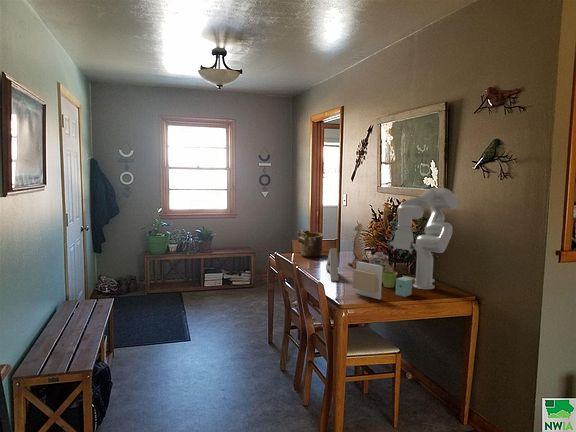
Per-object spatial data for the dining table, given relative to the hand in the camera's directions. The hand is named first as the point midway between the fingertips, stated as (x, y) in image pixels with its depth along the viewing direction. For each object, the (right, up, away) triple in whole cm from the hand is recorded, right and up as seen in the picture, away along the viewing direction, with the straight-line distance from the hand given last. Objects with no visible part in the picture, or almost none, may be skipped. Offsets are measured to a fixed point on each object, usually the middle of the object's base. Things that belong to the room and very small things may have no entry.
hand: (402, 259), depth 244 cm
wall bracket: (-35, -16, +46) cm, 60 cm away
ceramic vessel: (-45, -9, +112) cm, 121 cm away
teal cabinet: (+2, -20, +4) cm, 21 cm away
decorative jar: (-7, -17, +35) cm, 39 cm away
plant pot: (-3, -19, +20) cm, 27 cm away
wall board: (-21, -20, -3) cm, 29 cm away
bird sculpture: (-13, -13, +76) cm, 78 cm away
